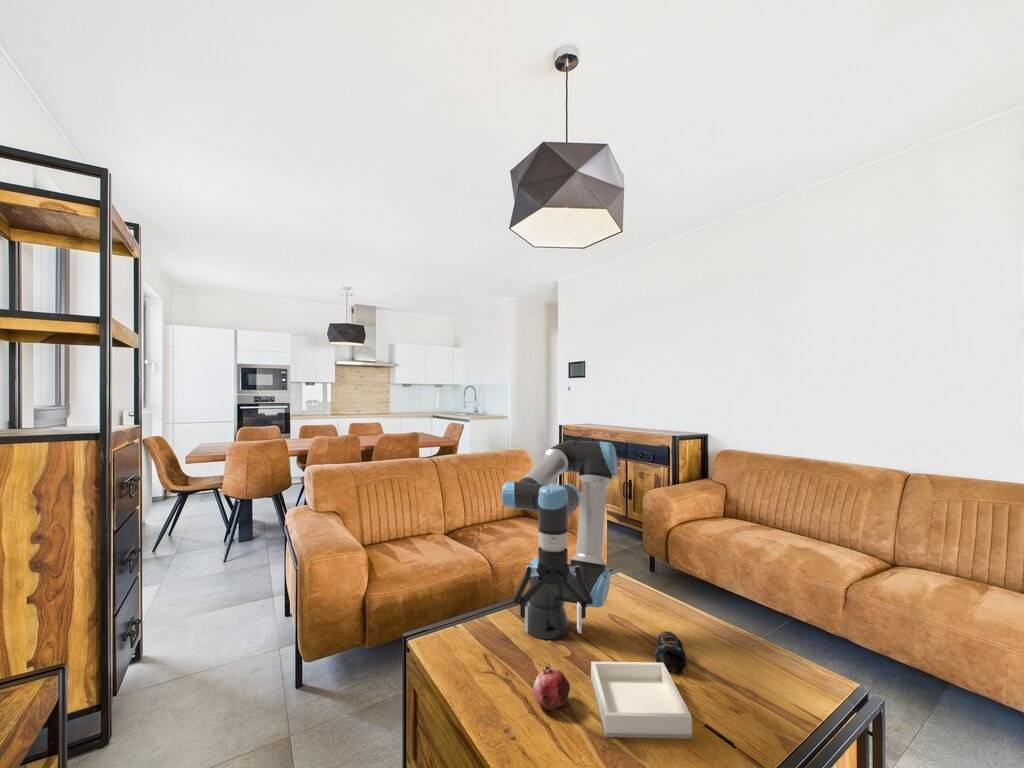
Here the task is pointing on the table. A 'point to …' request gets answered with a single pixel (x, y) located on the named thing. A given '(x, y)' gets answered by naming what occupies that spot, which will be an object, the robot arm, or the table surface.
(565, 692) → the fruit
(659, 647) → the figurine
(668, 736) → the dish
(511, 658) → the table surface
